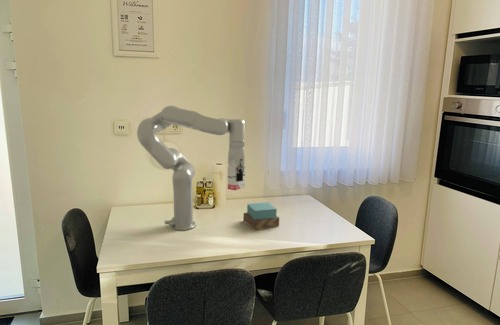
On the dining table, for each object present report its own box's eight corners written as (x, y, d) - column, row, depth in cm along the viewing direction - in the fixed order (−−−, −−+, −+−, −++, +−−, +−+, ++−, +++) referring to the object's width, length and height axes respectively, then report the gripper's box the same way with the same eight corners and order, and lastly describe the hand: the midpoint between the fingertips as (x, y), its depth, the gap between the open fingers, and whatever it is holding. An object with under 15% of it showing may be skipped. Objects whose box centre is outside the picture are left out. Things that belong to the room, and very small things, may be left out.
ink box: (234, 190, 183) (234, 167, 181) (226, 189, 186) (227, 166, 184) (245, 187, 190) (245, 164, 187) (238, 185, 193) (238, 163, 190)
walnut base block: (255, 230, 189) (256, 221, 188) (243, 221, 201) (243, 213, 200) (279, 226, 196) (279, 217, 195) (265, 218, 208) (265, 209, 207)
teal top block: (254, 220, 190) (254, 210, 189) (247, 212, 201) (247, 203, 200) (276, 218, 194) (276, 208, 193) (267, 210, 205) (268, 202, 204)
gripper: (222, 142, 189) (222, 176, 193) (237, 147, 174) (237, 184, 178) (235, 141, 193) (235, 175, 196) (251, 146, 178) (251, 182, 181)
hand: (236, 179), depth 187 cm, fingers closed on ink box, 6 cm apart
